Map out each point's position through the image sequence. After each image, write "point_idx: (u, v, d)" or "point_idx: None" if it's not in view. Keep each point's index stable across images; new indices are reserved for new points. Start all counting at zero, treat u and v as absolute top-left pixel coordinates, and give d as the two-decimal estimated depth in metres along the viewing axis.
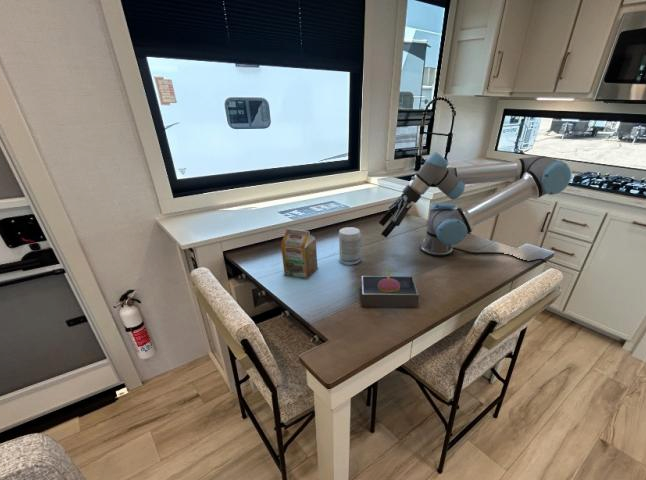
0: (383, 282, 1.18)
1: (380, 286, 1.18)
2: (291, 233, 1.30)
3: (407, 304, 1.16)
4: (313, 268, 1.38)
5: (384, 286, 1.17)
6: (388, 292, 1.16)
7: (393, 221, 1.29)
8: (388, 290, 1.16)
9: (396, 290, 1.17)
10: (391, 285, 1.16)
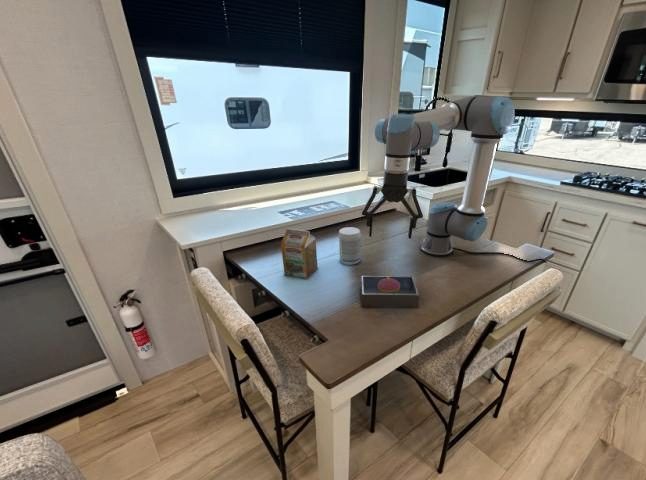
0: (383, 282, 1.18)
1: (380, 286, 1.18)
2: (291, 233, 1.30)
3: (407, 304, 1.16)
4: (313, 268, 1.38)
5: (384, 286, 1.17)
6: (388, 292, 1.16)
7: (417, 217, 1.06)
8: (388, 290, 1.16)
9: (396, 290, 1.17)
10: (391, 285, 1.16)
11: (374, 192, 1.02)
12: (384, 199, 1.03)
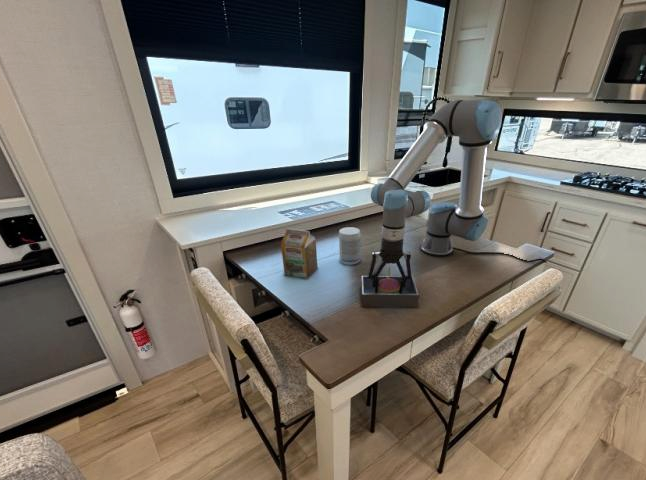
0: (383, 282, 1.18)
1: (380, 286, 1.18)
2: (291, 233, 1.30)
3: (407, 304, 1.16)
4: (313, 268, 1.38)
5: (384, 286, 1.17)
6: (388, 292, 1.16)
7: (406, 278, 1.17)
8: (388, 290, 1.16)
9: (396, 290, 1.17)
10: (391, 285, 1.16)
11: (374, 258, 1.12)
12: (384, 263, 1.13)
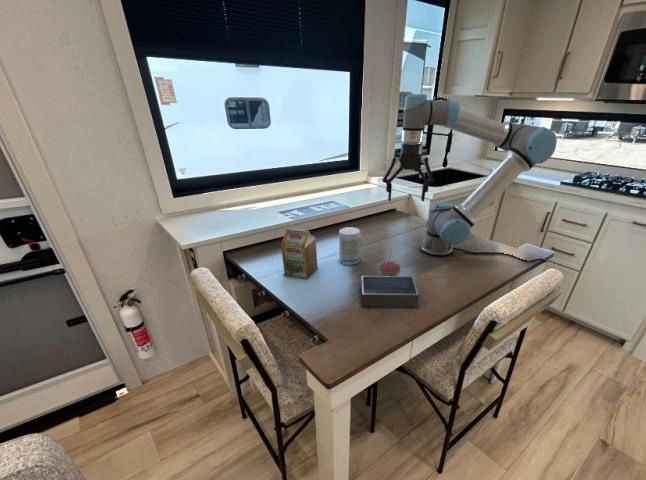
0: (385, 265, 1.31)
1: (382, 268, 1.30)
2: (291, 233, 1.30)
3: (407, 304, 1.16)
4: (313, 268, 1.38)
5: (386, 268, 1.30)
6: (390, 273, 1.29)
7: (429, 182, 1.26)
8: (389, 271, 1.29)
9: (397, 272, 1.30)
10: (392, 267, 1.29)
11: (393, 161, 1.22)
12: (402, 167, 1.23)
